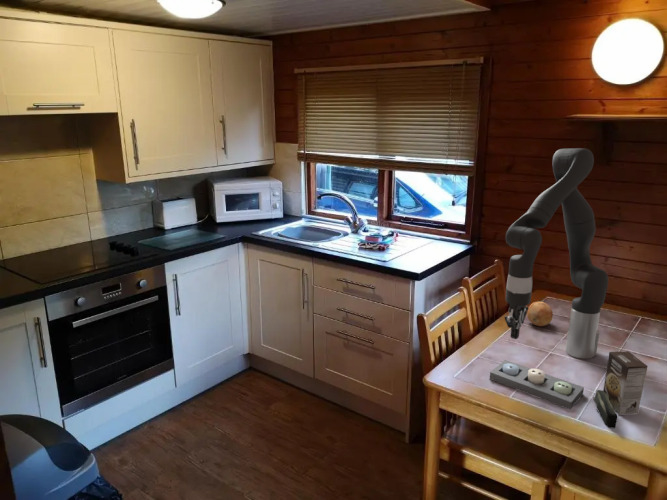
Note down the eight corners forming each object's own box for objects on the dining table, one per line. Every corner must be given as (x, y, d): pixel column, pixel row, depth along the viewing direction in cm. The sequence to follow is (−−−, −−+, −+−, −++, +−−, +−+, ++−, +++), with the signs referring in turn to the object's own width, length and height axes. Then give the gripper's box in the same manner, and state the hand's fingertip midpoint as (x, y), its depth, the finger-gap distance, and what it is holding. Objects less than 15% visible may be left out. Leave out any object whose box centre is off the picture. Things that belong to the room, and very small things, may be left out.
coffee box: (600, 398, 162) (608, 351, 157) (620, 396, 162) (628, 350, 157) (618, 415, 153) (627, 366, 148) (639, 414, 154) (648, 365, 149)
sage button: (550, 394, 163) (551, 385, 162) (556, 387, 166) (558, 379, 165) (567, 400, 159) (568, 391, 158) (573, 393, 163) (574, 384, 162)
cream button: (524, 381, 168) (525, 372, 167) (531, 375, 171) (532, 366, 170) (540, 386, 164) (541, 377, 163) (546, 380, 168) (547, 371, 167)
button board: (489, 378, 173) (490, 372, 172) (504, 366, 181) (505, 359, 180) (570, 409, 156) (571, 402, 155) (582, 394, 164) (583, 387, 163)
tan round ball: (553, 323, 214) (556, 300, 211) (548, 332, 206) (551, 308, 203) (529, 317, 219) (531, 295, 216) (523, 326, 211) (525, 303, 208)
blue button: (499, 375, 174) (500, 366, 173) (506, 369, 177) (507, 361, 176) (513, 380, 170) (514, 372, 169) (520, 374, 174) (521, 366, 173)
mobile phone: (620, 415, 146) (602, 385, 160) (608, 414, 146) (592, 384, 160) (617, 430, 147) (600, 399, 161) (605, 429, 148) (589, 398, 162)
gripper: (516, 279, 172) (512, 327, 177) (498, 291, 162) (494, 341, 167) (539, 285, 167) (534, 334, 172) (521, 297, 157) (516, 348, 162)
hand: (514, 337), depth 170 cm, fingers closed
